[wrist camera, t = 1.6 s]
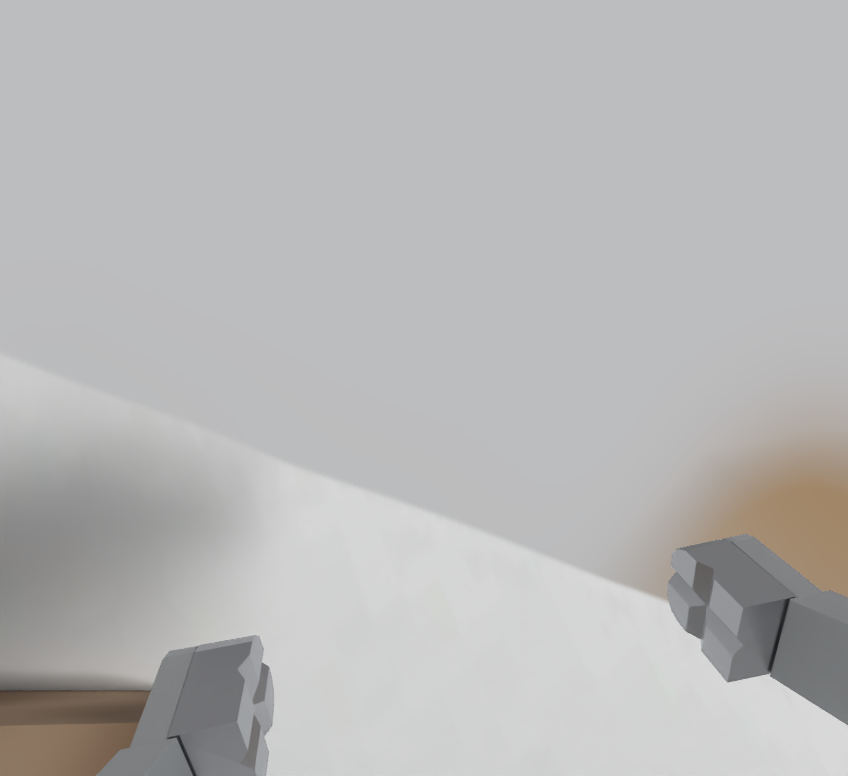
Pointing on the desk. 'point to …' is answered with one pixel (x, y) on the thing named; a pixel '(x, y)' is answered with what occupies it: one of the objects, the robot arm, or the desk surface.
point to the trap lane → (65, 730)
